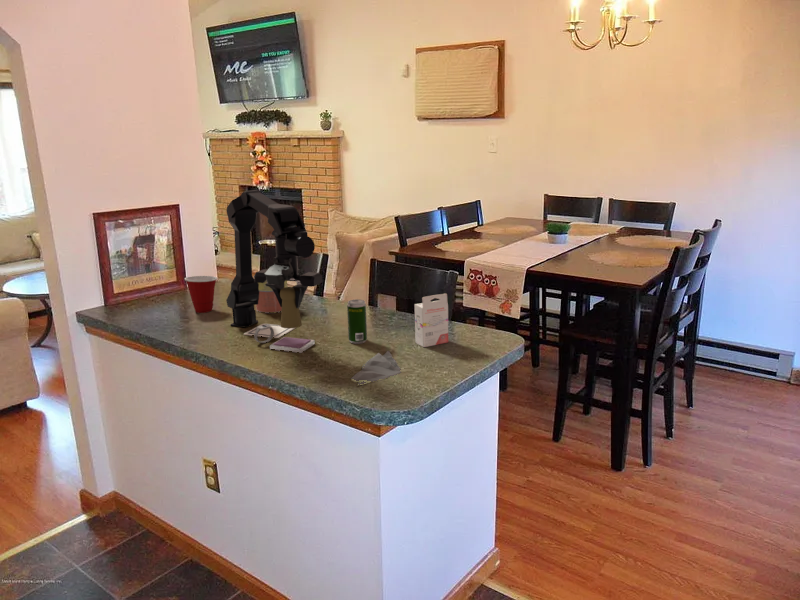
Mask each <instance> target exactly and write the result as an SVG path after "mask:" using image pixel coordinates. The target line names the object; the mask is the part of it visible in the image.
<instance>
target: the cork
mask: <svg viewBox="0 0 800 600" xmlns="http://www.w3.org/2000/svg"><path fill="white" fill-rule="evenodd" d="M280 297H281V299H282V311H281V312H280V313H281V315H280V325H281V327H282V328H295V329H297V328H299V327H302V326H303V322H302V318H301V312H300V307H299V308H296V300H295V290H294V288H293V286H288V287H285V288H282V289H281V290H280Z"/></svg>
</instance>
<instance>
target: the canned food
mask: <svg viewBox="0 0 800 600" xmlns="http://www.w3.org/2000/svg"><path fill="white" fill-rule="evenodd" d="M258 284H259V301H258V305H255V307H256V309H257V310H256V312H258V311H259V312H258V313H261V312H265V313H264V314H270V313H269V312H278V313H280V312H279V311H282V307H281V306H280V304H279V302H278V300H277V297H276V295H275V293H274V291H273V290H272V289H271V288H270V287H269V286H266V285H265V284H267V281H265V282H264V283H258ZM285 287H289V286H288V281H284V288H285Z"/></svg>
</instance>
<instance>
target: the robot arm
mask: <svg viewBox="0 0 800 600" xmlns="http://www.w3.org/2000/svg"><path fill="white" fill-rule="evenodd" d="M258 213H260V214H262V215H263V216H264V217H266V218H267V223H268V225H270V226H271V228H272V229H273V231H272V232H271V236H274V242H275V243H274V245H275V246H274V247H275V257H273V261H272V262H273V263H272V265H271V266H269V268H264V269H261V270H259V271H258V270H257V272H255V274H254V275H253V265H252V264H253V261H252V259H253V258H252V257H253V256H252V230H253V227H254V226H255V225H256V222H257V214H258ZM226 215H227V220H228V223H229V224H230V226H231V227H232V228H233V230H234V253H235V255H234V256H235V257H234V258H235V276H234V278H233V279H232V282H231V284H230V291H229V294H228V295H227V298H226V301H225V302H226V305H227V307H228V308H230V309H232V311H231V312H232V321H233V322H232V323H230V326H232V327H239V328H241V327H242V328H248V327H251V326H253V325H255V324H256V323H259V320H257V310H256V309H255V306H256V305H258V301H259V284H258V283H264V282H265V281H267V284H265V285H266V286H269V287H270V288H271V289H272V290H273V291H274V293H275V295H276V297H277V300H278V302H279V304H280V306H281V307H282V299H281V297H280V290H281V289H282V288H284V281H287V282H296V285H293V286H292V287H293V288H294V290H295V300H296V308H299V309H300V306H301V304H302V301H303V298H304V295H305V293H306V291H307V289H308V287H316V286H317V285H320V284H322V283H323V275H322V274H321V272H317V271H316V272H313V271H312V272H311V271H308V272H305V273H304V274H301V269H299V264H298V260H300V258H304V259H305V258H306V259H307V258H309V257H311V256H312V255H313V253H314V252H315V246H316V245H315V243H314V242H315V241H314V240H313V238H311V237H310V236H308V231H307V230H306V227H305V226H306V225H305V222H304V221H303V219H302V217H301V215H300V212H299V210H298V209H297V208H296V207H295V206H293V205H291V204H290V205H289V204H284V203H283V204H282V203H281V204H280V203H278V202H276V201H275V200H273V199H271V198H270V197H268V196H266V195H264V194H263V193H262V192H261V190H257V189H254V190H245V191H243V192H242V193H241V194H240V195H239V196H238V197H237V196H236V198H234V199H232V200H231V201H230V203H228V205H227V207H226Z"/></svg>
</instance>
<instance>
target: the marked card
mask: <svg viewBox="0 0 800 600" xmlns="http://www.w3.org/2000/svg"><path fill="white" fill-rule="evenodd" d="M265 324H266V325H269V326H271V327H272V329H273V330H274V336H273V337H274V338H273V339H280V338H282V337H284V334H285V335H286V334H288V333H290V332H291V331H293V330H295V329H296V328H282V327H281V324H280V325H279V324H271V323H261V324H259V325H258V326H262V325H265ZM256 329H257V328H256V327H253V328H252V329H250V330H248V331H246V332H244V333H243V335H244V336H252V335H254V334H255V331H256ZM270 334H271V330H270V328H269V329H265V330H260V331H259V332H258V336H257V337H261V336H262V337H263V338H269V337H270Z"/></svg>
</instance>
